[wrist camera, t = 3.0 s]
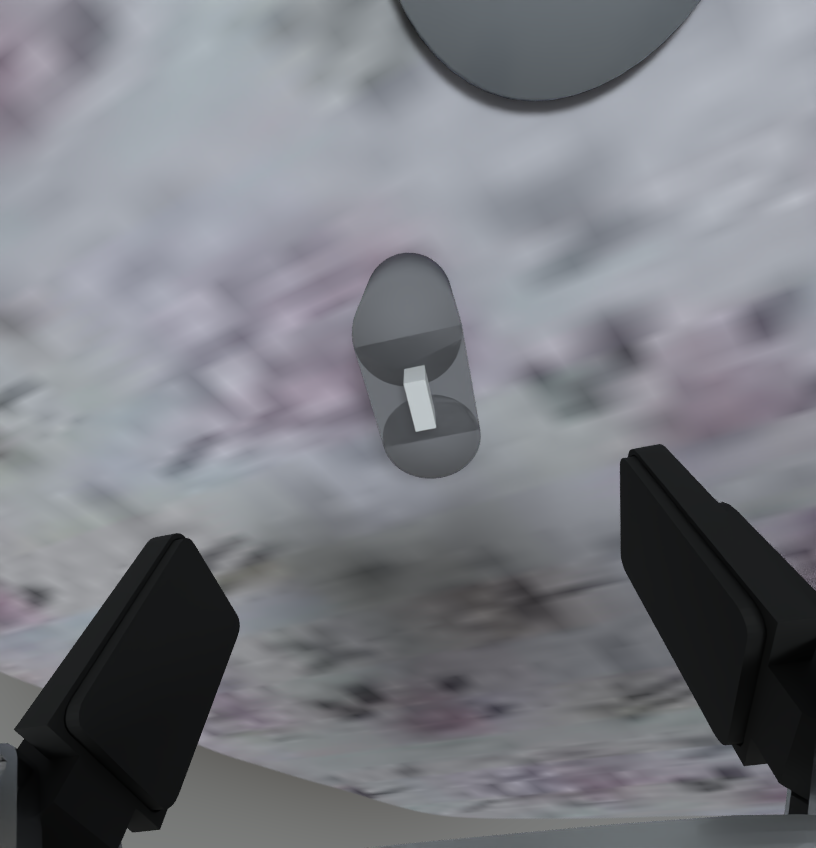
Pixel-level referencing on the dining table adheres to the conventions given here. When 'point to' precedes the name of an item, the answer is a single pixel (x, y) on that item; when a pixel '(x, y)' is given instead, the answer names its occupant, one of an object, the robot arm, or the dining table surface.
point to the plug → (417, 367)
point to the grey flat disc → (543, 40)
